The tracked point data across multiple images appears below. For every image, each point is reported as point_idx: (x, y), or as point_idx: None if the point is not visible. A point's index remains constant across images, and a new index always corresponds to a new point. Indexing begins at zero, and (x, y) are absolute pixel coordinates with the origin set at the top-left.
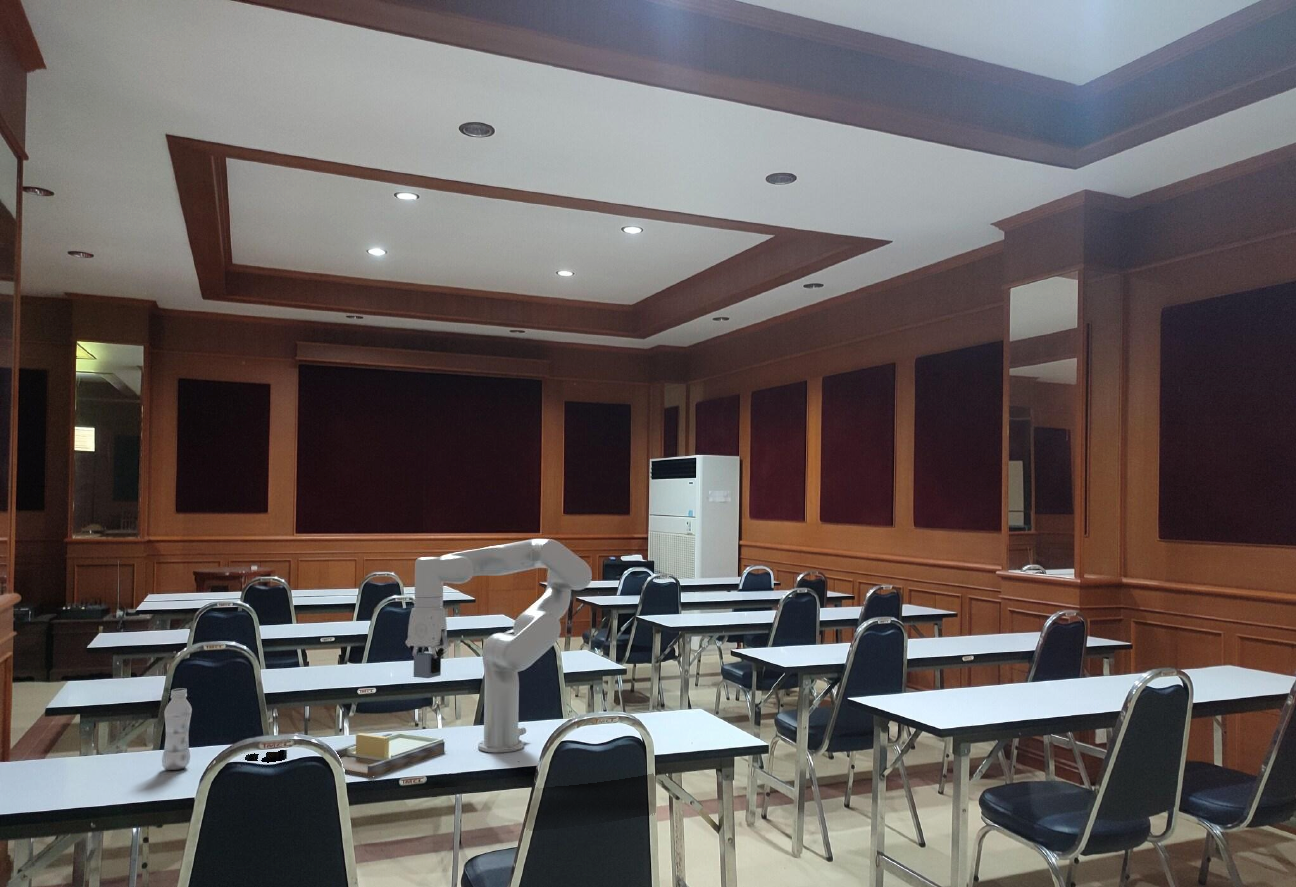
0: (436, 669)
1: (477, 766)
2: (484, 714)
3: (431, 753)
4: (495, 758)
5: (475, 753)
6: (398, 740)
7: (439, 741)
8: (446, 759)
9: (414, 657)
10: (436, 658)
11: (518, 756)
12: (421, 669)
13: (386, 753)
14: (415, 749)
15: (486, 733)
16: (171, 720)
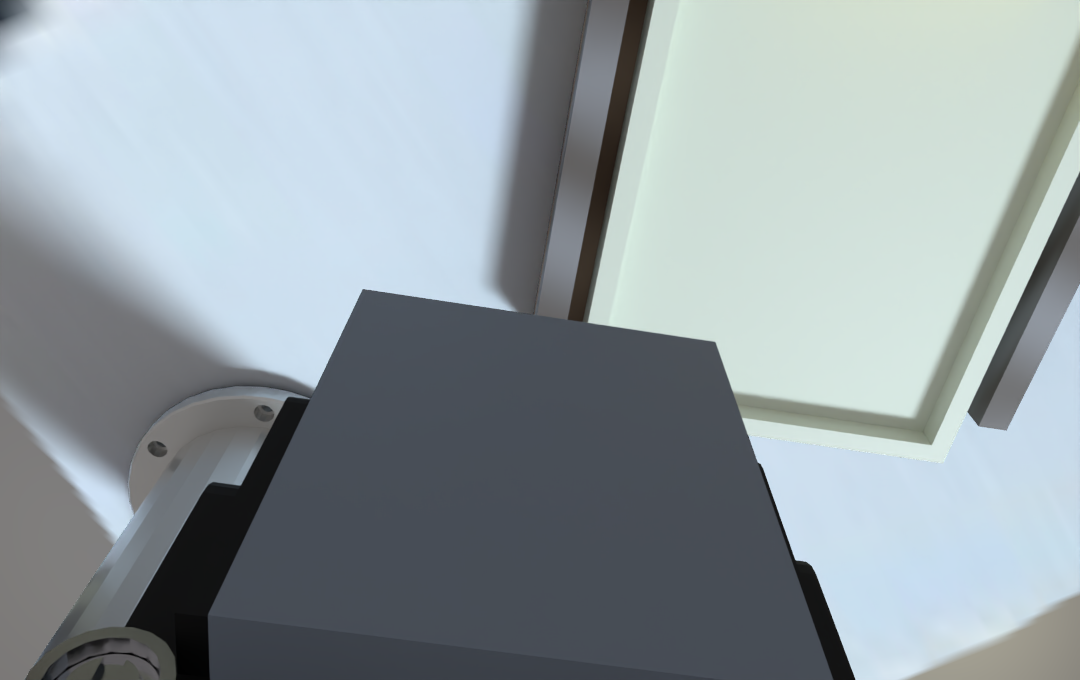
0: (237, 485)
1: (115, 86)
2: None
3: (551, 217)
4: (143, 291)
5: (329, 353)
6: (892, 360)
7: None
8: (416, 178)
9: (787, 606)
10: (126, 655)
11: (51, 367)
12: (526, 396)
13: None
14: (626, 134)
15: None
16: None
